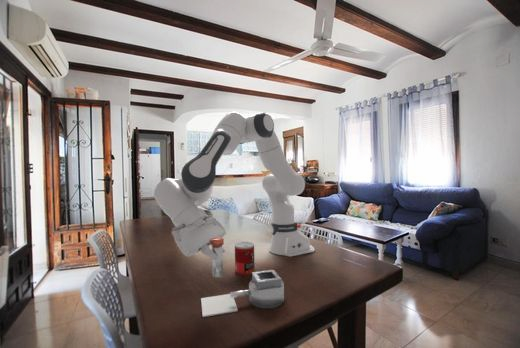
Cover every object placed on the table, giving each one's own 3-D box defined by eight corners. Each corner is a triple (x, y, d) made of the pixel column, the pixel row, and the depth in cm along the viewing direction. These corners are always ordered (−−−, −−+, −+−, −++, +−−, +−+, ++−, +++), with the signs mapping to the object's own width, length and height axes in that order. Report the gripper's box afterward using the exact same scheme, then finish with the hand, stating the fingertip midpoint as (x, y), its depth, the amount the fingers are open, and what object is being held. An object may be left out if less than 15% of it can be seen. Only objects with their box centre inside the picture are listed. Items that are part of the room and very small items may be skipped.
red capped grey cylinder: (223, 272, 78) (222, 237, 78) (224, 277, 75) (224, 240, 74) (210, 273, 77) (210, 238, 77) (211, 278, 74) (211, 241, 73)
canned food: (247, 277, 95) (247, 248, 95) (231, 272, 100) (230, 245, 99) (258, 270, 102) (257, 243, 102) (242, 266, 106) (242, 240, 106)
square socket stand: (277, 288, 86) (276, 266, 86) (289, 305, 75) (289, 280, 75) (227, 296, 81) (227, 273, 81) (233, 315, 71) (233, 288, 71)
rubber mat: (232, 294, 82) (232, 293, 82) (237, 311, 73) (237, 309, 73) (201, 299, 80) (201, 298, 80) (202, 317, 70) (202, 315, 70)
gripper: (175, 221, 68) (207, 261, 65) (213, 209, 87) (239, 239, 84) (162, 236, 70) (193, 276, 67) (202, 221, 89) (227, 251, 86)
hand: (219, 255), depth 76 cm, fingers closed on red capped grey cylinder, 3 cm apart
